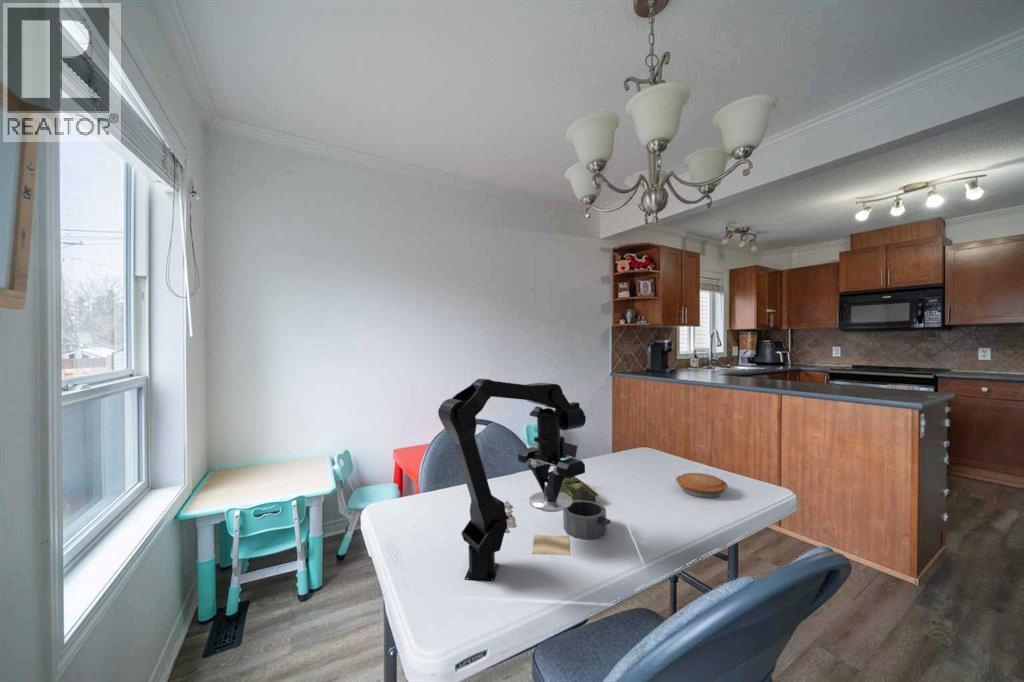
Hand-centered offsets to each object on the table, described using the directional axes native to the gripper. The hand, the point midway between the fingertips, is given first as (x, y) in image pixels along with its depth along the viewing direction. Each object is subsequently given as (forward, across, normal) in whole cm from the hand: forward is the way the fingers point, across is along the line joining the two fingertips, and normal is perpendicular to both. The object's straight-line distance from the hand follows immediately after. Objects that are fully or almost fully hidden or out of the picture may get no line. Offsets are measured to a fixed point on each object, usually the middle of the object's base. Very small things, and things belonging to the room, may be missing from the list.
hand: (550, 495), depth 92 cm
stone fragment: (+13, +23, 0) cm, 26 cm away
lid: (+2, 0, 0) cm, 2 cm away
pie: (+13, -8, -62) cm, 64 cm away
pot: (+12, 0, -12) cm, 17 cm away
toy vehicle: (+13, +18, -27) cm, 35 cm away
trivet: (+12, 0, 0) cm, 13 cm away
